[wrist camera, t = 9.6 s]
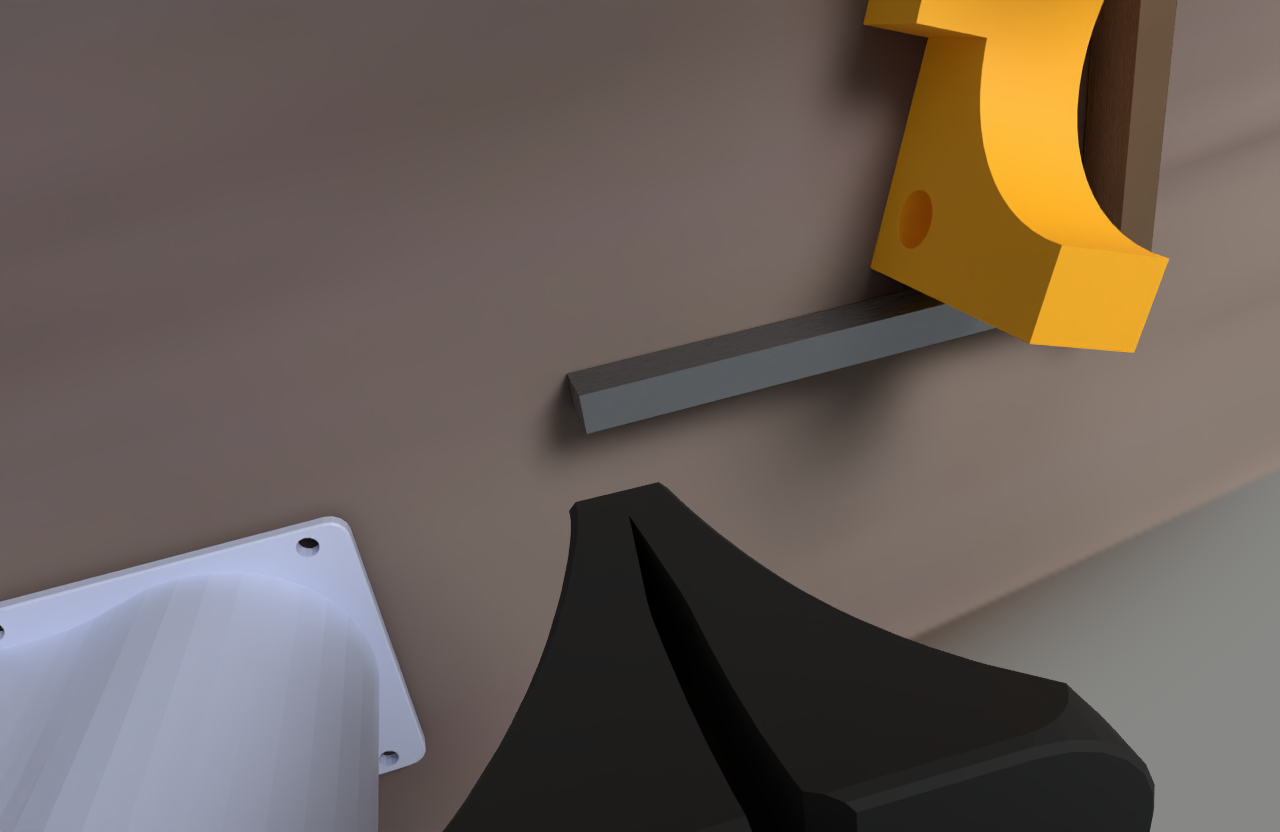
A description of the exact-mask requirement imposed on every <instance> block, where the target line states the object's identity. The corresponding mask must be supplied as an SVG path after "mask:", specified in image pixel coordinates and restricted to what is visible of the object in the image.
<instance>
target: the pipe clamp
mask: <svg viewBox="0 0 1280 832" xmlns="http://www.w3.org/2000/svg"><path fill="white" fill-rule="evenodd" d="M1103 1H1104V0H869V1H868V6H867V10H866V15H865V19H864V23H863V25H867V26H872V27H877V28H882V29H887V30H892V31H897V32H902V33H907V34H912V35H917V36H922V37H927V38H928V41H927V45H926V49H925V53H924V57H923V61H922V65H921V69H920V73H919V77H918V81H917V84H916V88H915V92H914V96H913V100H912V104H911V108H910V112H909V116H908V120H907V124H906V128H905V132H904V136H903V140H902V144H901V148H900V152H899V156H898V160H897V164H896V168H895V172H894V176H893V180H892V184H891V188H890V192H889V196H888V200H887V204H886V208H885V212H884V215H883V219H882V223H881V227H880V231H879V235H878V239H877V243H876V247H875V251H874V255H873V259H872V263H871V267H870V268H872V269H874V270H876V271H878V272H880V273H882V274H884V275H886V276H888V277H891V278H893V279H895V280H897V281H899V282H901V283H903V284H905V285H907V286H909V287H912V288H914V289H916V290H918V291H920V292H922V293H924V294H926V295H928V296H930V297H932V298H935V299H937V300H939V301H941V302H943V303H945V304H947V305H949V306H951V307H953V308H956V309H958V310H960V311H962V312H964V313H966V314H968V315H970V316H972V317H974V318H976V319H979V320H981V321H983V322H985V323H987V324H989V325H991V326H993V327H995V328H997V329H1000V330H1002V331H1004V332H1006V333H1008V334H1010V335H1012V336H1014V337H1016V338H1018V339H1021V340H1023V341H1025V342H1027V343H1029V344H1038V345H1050V346H1062V347H1073V348H1085V349H1097V350H1109V351H1121V352H1132V353H1134V351H1135V348H1136V346H1137V343H1138V340H1139V338H1140V335H1141V332H1142V330H1143V327H1144V324H1145V322H1146V319H1147V316H1148V314H1149V311H1150V308H1151V306H1152V303H1153V300H1154V298H1155V295H1156V292H1157V290H1158V287H1159V284H1160V282H1161V279H1162V276H1163V274H1164V271H1165V268H1166V266H1167V263H1168V260H1169V258H1166V257H1163V256H1160V255H1157V254H1155V253H1152V252H1150V251H1148V250H1146V249H1144V248H1142V247H1141V246H1139V245H1137V244H1135V243H1134V242H1133V241H1131V240H1130V239H1129V238H1127V237H1126V236H1125V235H1123V234H1122V233H1121V232H1120V231H1119V230H1118V229H1117V228H1116V227H1115V226H1114V225H1113V224H1112V223H1111V222H1110V220H1109V219H1108V218H1107V216H1106V215H1105V214H1104V213H1103V211H1102V210H1101V208H1100V206H1099V205H1098V203H1097V201H1096V200H1095V198H1094V196H1093V194H1092V191H1091V189H1090V187H1089V184H1088V182H1087V179H1086V176H1085V172H1084V169H1083V166H1082V161H1081V156H1080V150H1079V144H1078V131H1077V106H1078V95H1079V86H1080V80H1081V74H1082V68H1083V63H1084V59H1085V55H1086V51H1087V47H1088V44H1089V40H1090V37H1091V34H1092V31H1093V28H1094V25H1095V22H1096V19H1097V17H1098V14H1099V12H1100V9H1101V6H1102V4H1103Z"/></svg>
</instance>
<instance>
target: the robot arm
mask: <svg viewBox="0 0 1280 832" xmlns="http://www.w3.org/2000/svg"><path fill="white" fill-rule="evenodd" d="M569 512H570V517H571V538H570V547H569V555H568V562H567V567H566V572H565V577H564V582H563V586H562V591H561V595H560V599H559V603H558V606H557V610H556V613H555V616H554V620H553V623H552V627H551V630H550V633H549V637H548V640H547V642H546V645H545V648H544V651H543V654H542V656H541V659H540V662H539V664H538V667H537V669H536V671H535V674H534V676H533V679H532V681H531V683H530V686H529V688H528V690H527V693H526V695H525V697H524V699H523V701H522V703H521V705H520V707H519V709H518V711H517V713H516V715H515V717H514V719H513V721H512V723H511V725H510V727H509V729H508V731H507V733H506V735H505V737H504V738H503V740H502V742H501V744H500V746H499V747H498V749H497V751H496V752H495V754H494V756H493V757H492V759H491V760H490V762H489V764H488V765H487V767H486V768H485V770H484V772H483V773H482V775H481V776H480V778H479V780H478V781H477V783H476V784H475V786H474V788H473V789H472V791H471V792H470V794H469V796H468V797H467V799H466V800H465V802H464V803H463V805H462V806H461V808H460V809H459V810H458V812H457V813H456V815H455V816H454V817H453V819H452V820H451V821H450V823H449V824H448V825H447V827H446V828H445V829H444V831H443V832H1150V827H1151V822H1152V817H1153V811H1154V782H1153V780H1152V778H1151V775H1150V773H1149V770H1148V768H1147V766H1146V764H1145V763H1144V762H1143V761H1142V759H1141V758H1140V757H1139V756H1138V755H1137V754H1136V753H1135V752H1134V751H1133V750H1132V749H1131V747H1130V746H1129V745H1128V744H1127V743H1126V742H1125V741H1124V740H1123V739H1122V738H1121V736H1120V735H1119V734H1118V733H1117V732H1116V731H1115V730H1114V729H1113V728H1112V727H1111V726H1110V725H1109V724H1108V723H1107V722H1106V720H1105V719H1104V718H1103V717H1102V716H1101V715H1100V714H1099V713H1098V712H1097V711H1095V710H1094V709H1093V708H1092V707H1091V706H1090V705H1089V704H1088V703H1087V702H1085V701H1084V700H1083V699H1082V698H1081V697H1080V696H1079V695H1078V694H1077V693H1075V692H1074V691H1073V690H1072V689H1071V688H1070V687H1069V686H1068V685H1067V684H1066V683H1063V682H1058V681H1054V680H1049V679H1046V678H1041V677H1037V676H1033V675H1029V674H1025V673H1020V672H1016V671H1011V670H1008V669H1004V668H999V667H995V666H991V665H987V664H983V663H979V662H976V661H973V660H969V659H966V658H963V657H960V656H956V655H953V654H950V653H947V652H944V651H941V650H938V649H934V648H931V647H928V646H926V645H923V644H920V643H917V642H914V641H912V640H909V639H906V638H903V637H901V636H898V635H896V634H893V633H891V632H888V631H886V630H884V629H881V628H879V627H876V626H874V625H872V624H869V623H867V622H864V621H862V620H860V619H857V618H855V617H853V616H851V615H849V614H847V613H844V612H842V611H840V610H838V609H836V608H834V607H832V606H830V605H828V604H826V603H825V602H823V601H821V600H819V599H817V598H815V597H813V596H811V595H809V594H807V593H806V592H804V591H802V590H800V589H799V588H797V587H795V586H794V585H792V584H790V583H789V582H787V581H786V580H784V579H782V578H781V577H779V576H778V575H776V574H775V573H773V572H772V571H770V570H769V569H767V568H766V567H764V566H763V565H761V564H760V563H758V562H757V561H755V560H754V559H753V558H751V557H750V556H748V555H747V554H745V553H744V552H743V551H741V550H740V549H739V548H738V547H736V546H735V545H734V544H732V543H731V542H730V541H728V540H727V539H726V538H724V537H723V536H722V535H720V534H719V533H718V532H717V531H715V530H714V529H713V528H712V527H710V526H709V525H708V524H707V523H706V522H704V521H703V520H702V519H701V518H700V517H699V516H697V515H696V514H695V513H694V512H693V511H692V510H690V509H689V508H688V507H687V506H686V505H685V504H684V503H683V502H682V501H680V500H679V499H678V498H677V497H676V496H675V495H674V494H673V493H672V492H671V491H670V490H669V489H668V488H667V487H665V486H664V485H662V484H661V483H659V482H657V483H653V484H649V485H645V486H641V487H637V488H632V489H628V490H624V491H620V492H616V493H612V494H608V495H603V496H599V497H595V498H591V499H587V500H583V501H579V502H575V504H574V505H573V506H572V508H571V509H570V511H569ZM303 538H312V539H315V540H316V541H317V542H318V543H319V544H318V545H317V546H315V547H314V548H305V547H302V546H301V545H300V544H299V543H298V541H299V540H301V539H303ZM0 626H1V627H3V628H4V631H0V832H378V786H379V775H380V774H383V773H386V772H389V771H393V770H396V769H399V768H402V767H405V766H408V765H412V764H414V763H416V762H418V761H419V760H420V759H421V758H422V757H423V756H424V754H425V751H426V749H425V737H424V734H423V732H422V729H421V726H420V723H419V720H418V717H417V715H416V712H415V709H414V706H413V703H412V701H411V698H410V695H409V692H408V689H407V686H406V684H405V681H404V678H403V675H402V672H401V669H400V667H399V664H398V661H397V658H396V655H395V653H394V650H393V647H392V644H391V641H390V638H389V636H388V633H387V630H386V627H385V624H384V621H383V619H382V616H381V613H380V610H379V607H378V605H377V602H376V599H375V596H374V593H373V590H372V588H371V585H370V582H369V579H368V576H367V573H366V571H365V568H364V565H363V562H362V559H361V557H360V554H359V551H358V548H357V545H356V542H355V540H354V537H353V534H352V531H351V529H350V527H349V525H348V524H347V522H345V521H344V520H342V519H341V518H337V517H333V516H330V517H322V518H318V519H314V520H311V521H307V522H303V523H299V524H295V525H291V526H288V527H284V528H280V529H276V530H272V531H269V532H265V533H261V534H257V535H253V536H249V537H246V538H242V539H238V540H234V541H230V542H227V543H223V544H219V545H215V546H211V547H207V548H204V549H200V550H196V551H192V552H188V553H185V554H181V555H177V556H173V557H169V558H166V559H162V560H158V561H154V562H150V563H146V564H143V565H139V566H135V567H131V568H127V569H124V570H120V571H116V572H112V573H108V574H104V575H101V576H97V577H93V578H89V579H85V580H82V581H78V582H74V583H70V584H66V585H62V586H59V587H55V588H51V589H47V590H43V591H40V592H36V593H32V594H28V595H24V596H20V597H17V598H13V599H9V600H5V601H1V602H0ZM386 751H394V752H396V753H394V754H392V755H383V754H382V753H384V752H386Z"/></svg>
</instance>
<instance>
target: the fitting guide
mask: <svg viewBox="0 0 1280 832" xmlns="http://www.w3.org/2000/svg"><path fill="white" fill-rule="evenodd" d="M1176 7H1177V0H1104V1H1103V4H1102V6H1101V9H1100V12H1099V14H1098V17H1097V19H1096V22H1095V25H1094V28H1093V31H1092V37H1091V53H1090V68H1089V83H1088V98H1087V113H1086V128H1085V143H1084V158H1083V169H1084V172H1085V176H1086V179H1087V182H1088V184H1089V187H1090V189H1091V191H1092V194H1093V196H1094V198H1095V200H1096V201H1097V203H1098V205H1099V206H1100V208H1101V210H1102V211H1103V213H1104V214H1105V215H1106V216H1107V218H1108V219H1109V220H1110V222H1111V223H1112V224H1113V225H1114V226H1115V227H1116V228H1117V229H1118V230H1119V231H1120V232H1121V233H1122V234H1123V235H1125V236H1126V237H1127V238H1129V239H1130V240H1131V241H1133V242H1134V243H1135V244H1137V245H1139V246H1141V247H1142V248H1144V249H1146V250H1148V251H1150V252H1151V248H1152V238H1153V229H1154V219H1155V210H1156V200H1157V190H1158V181H1159V171H1160V161H1161V152H1162V142H1163V132H1164V123H1165V113H1166V103H1167V94H1168V84H1169V75H1170V65H1171V55H1172V46H1173V36H1174V26H1175V17H1176ZM994 328H995V327H993V326H991V325H989V324H987V323H985V322H983V321H981V320H979V319H976V318H974V317H972V316H970V315H968V314H966V313H964V312H962V311H960V310H958V309H956V308H953V307H951V306H949V305H947V304H945V303H943V302H941V301H939V300H937V299H935V298H932V297H930V296H928V295H926V294H924V293H922V292H920V291H918V290H916V289H910V290H906V291H902V292H898V293H894V294H890V295H886V296H882V297H878V298H873V299H869V300H865V301H861V302H857V303H853V304H849V305H845V306H841V307H837V308H833V309H829V310H825V311H821V312H816V313H812V314H808V315H804V316H800V317H796V318H792V319H788V320H784V321H780V322H776V323H772V324H768V325H764V326H760V327H755V328H751V329H747V330H743V331H739V332H735V333H731V334H727V335H723V336H719V337H715V338H711V339H707V340H703V341H699V342H694V343H690V344H686V345H682V346H678V347H674V348H670V349H666V350H662V351H658V352H654V353H650V354H646V355H642V356H637V357H633V358H629V359H625V360H621V361H617V362H613V363H609V364H605V365H601V366H597V367H593V368H589V369H585V370H581V371H576V372H572V373H568V374H567V375H568V380H569V385H570V390H571V395H572V399H573V404H574V409H575V412H576V414H577V416H578V417H579V419H580V421H581V423H582V425H583V427H584V429H585V431H586V433H587V434H589V433H593V432H597V431H601V430H604V429H608V428H612V427H616V426H620V425H624V424H628V423H631V422H635V421H639V420H643V419H647V418H651V417H655V416H658V415H662V414H666V413H670V412H674V411H678V410H682V409H685V408H689V407H693V406H697V405H701V404H705V403H709V402H712V401H716V400H720V399H724V398H728V397H732V396H736V395H739V394H743V393H747V392H751V391H755V390H759V389H763V388H766V387H770V386H774V385H778V384H782V383H786V382H790V381H793V380H797V379H801V378H805V377H809V376H813V375H817V374H821V373H824V372H828V371H832V370H836V369H840V368H844V367H848V366H851V365H855V364H859V363H863V362H867V361H871V360H875V359H878V358H882V357H886V356H890V355H894V354H898V353H902V352H905V351H909V350H913V349H917V348H921V347H925V346H929V345H932V344H936V343H940V342H944V341H948V340H952V339H956V338H959V337H963V336H967V335H971V334H975V333H979V332H983V331H986V330H990V329H994Z"/></svg>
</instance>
